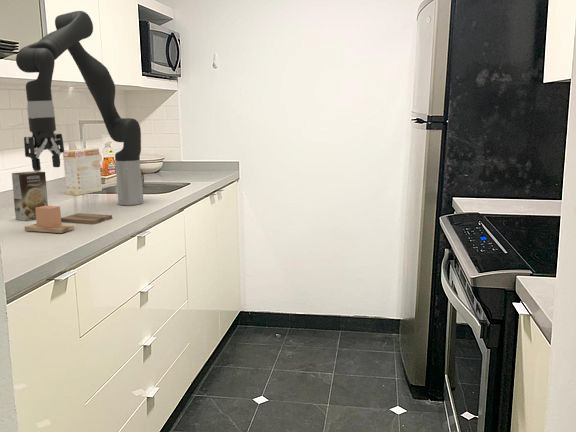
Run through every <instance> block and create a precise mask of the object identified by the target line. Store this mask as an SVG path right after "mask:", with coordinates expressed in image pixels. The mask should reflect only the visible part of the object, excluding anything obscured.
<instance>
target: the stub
mask: <svg viewBox="0 0 576 432" xmlns="http://www.w3.org/2000/svg"><path fill="white" fill-rule="evenodd" d="M35 210H36V219H35V220H36V223H34V224H30V225H25V226H24V231H29V232H42V233H57V234H62V233H66V232H71V231H72V230H75V225H74V224H73V225H72V224H62V222H61V218H62V216H61V215H62V214H61V206H57V205H48V206H41V207H36V208H35Z"/></svg>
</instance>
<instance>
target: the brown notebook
mask: <svg viewBox="0 0 576 432" xmlns="http://www.w3.org/2000/svg"><path fill="white" fill-rule="evenodd" d="M105 220H106V221H110V220H113V215H112V214H98V213H97V214H96V213H85V212H84V213H83V212H82V213H81V212H80V213H79V212H78V213H74V214H70V215H67V216H64V217H63V216H61V223H70V224H71V223H72V224H84V225H85V224H86V225H96V224H99V223H102V221H103V222H105Z"/></svg>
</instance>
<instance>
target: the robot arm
mask: <svg viewBox="0 0 576 432" xmlns="http://www.w3.org/2000/svg"><path fill="white" fill-rule="evenodd" d="M54 26H55V29H56V30H54V31H51V32H49V33H48V34H46V35H44V36H43V37H42V38H41V39H40V40H38V41H36V42H34V43H31V44H29V45H25V46H24V47H21V48H20V49H19V51H18V52H19V54H16V57H15V63H16V66H17V67H18V68H19V70H20V71H22V72H24V73H27V74H33V73H38V75H37V77H36V79H34V80H31V81H28V82H27V83H26V84H25V92H26V100H27V105H26V106H27V107H26V108H27V109H26V110H27V119H28V129H29V132H30V133H31V134H32V135H31V136H24V137H23V142H24V157H25V158H26V157H27V158H30V159H31V165H32V170H33V171H41V170H42V168H41V161H40V160H41V159H40V156H41V154H42V153H43V152H44V151H46V150H47V151H49V152H50V153H51V160H52V167H53V168H59V167H61V158H60V157H61V154H63V152H64V151H65V148H64V147H65V146H64V139H63V135H62V133H55V132H56V130H57V127H56V117H55V107H54V103H53V96H52V82H53V81H52V80H53V76H54V75H53V74H54V69H55V64H56V63H55V61H56V60H57V59H58V58H59V57H60V56H61V55H62V54H64V53H65V52H66V51H68V52H69V54H70V56H71V58H72V59H73V61H74V62H75V65H76V66H77V68H78V70H79V72H80V74H81V76H82V78H83V80H84V83H85V85H86V86H87V89H88V90H89V93H90V94H91V96H92V98H93V99H94V102H95V104H96V106H97V108H98V111H99V113H100V115H101V118H102V119H103V122H104V125H105V128H106V130H107V133H108V135H109V136H110V138H111V140H113V141H114V142H117V143H123V146H122V149H121V150H120V151H117V152H115V154H114V160H115V176H116V187H117V188H116V189H117V201H118V203H117V204H118V205H119V206H137V205H141V204H143V202H144V190H143V189H144V184H143V185H142V178H141V171H140V170H141V160H140V158H141V157H140V156H141V152H142V131H141V125H140V123H139V122H138V120H137V119H135V118H130V117H129V118H127V117H126V118H123V117H121V116H120V114H119V113H118V111H117V108H116V105H115V98H116V85H115V82H114V80H113V78H112V76H111V73H110V71H109V70H108V68H107V67H106V66H105V65H104V64H103V63H102V62H101V61H99V60H98V59H96V58H95V57H94V56H93V55H91V54H90V53H88V51H86V49H85V48H84V47H83V45H82V44H81V42H80V41H82V40H84V39H87V38H90V37H91V36H92V34H93V32H94V24H93V21H92V18H91V17H90V15H89V14H88V13H87V12H85V11H82V10H75V11H70V12H67V13H63V14H59V15H57V16H56V17H55V19H54Z"/></svg>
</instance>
